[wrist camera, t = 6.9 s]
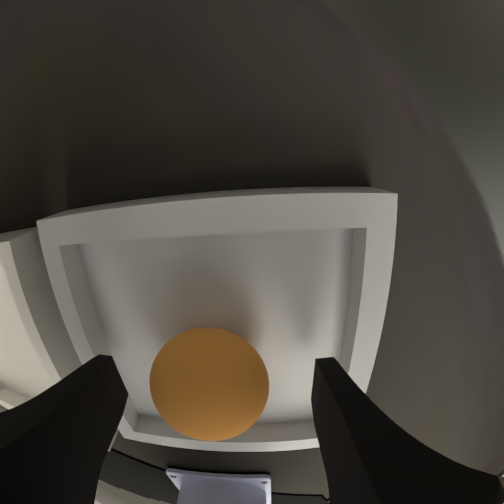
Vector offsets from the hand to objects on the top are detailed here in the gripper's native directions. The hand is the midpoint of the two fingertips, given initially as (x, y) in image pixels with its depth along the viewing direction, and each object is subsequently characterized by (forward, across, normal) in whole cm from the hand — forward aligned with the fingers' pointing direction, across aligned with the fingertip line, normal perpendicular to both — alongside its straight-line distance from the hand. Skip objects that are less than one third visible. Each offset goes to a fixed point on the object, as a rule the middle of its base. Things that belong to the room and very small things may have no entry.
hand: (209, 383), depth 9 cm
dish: (+3, +14, +1) cm, 14 cm away
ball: (+2, 0, 0) cm, 2 cm away
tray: (+3, 0, 0) cm, 3 cm away
